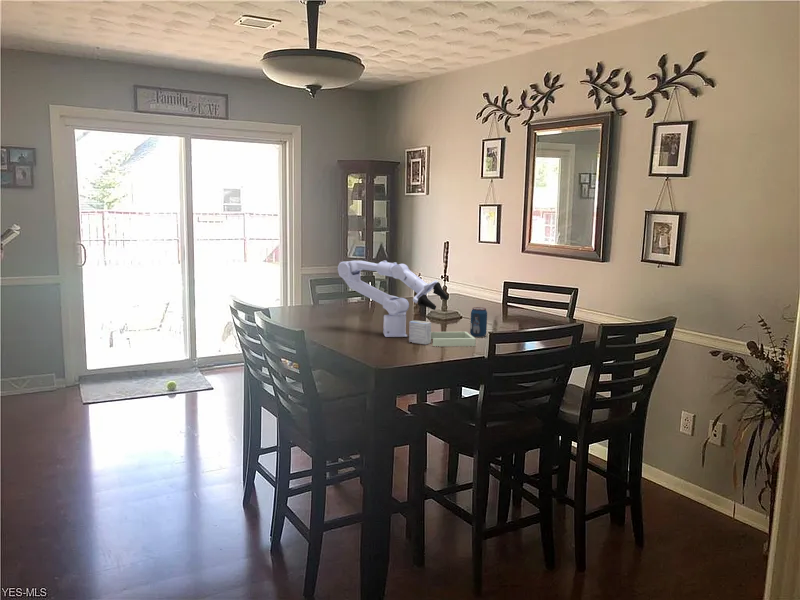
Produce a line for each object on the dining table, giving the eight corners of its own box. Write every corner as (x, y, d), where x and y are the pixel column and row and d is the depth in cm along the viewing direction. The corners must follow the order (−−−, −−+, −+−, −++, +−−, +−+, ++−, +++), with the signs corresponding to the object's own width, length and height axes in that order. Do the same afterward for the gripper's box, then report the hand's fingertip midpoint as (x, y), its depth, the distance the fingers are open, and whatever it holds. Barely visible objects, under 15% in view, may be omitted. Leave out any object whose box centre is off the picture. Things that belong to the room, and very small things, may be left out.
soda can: (483, 334, 277) (484, 307, 276) (488, 337, 270) (489, 309, 269) (468, 334, 276) (469, 307, 274) (472, 337, 269) (473, 309, 268)
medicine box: (431, 343, 256) (431, 322, 255) (425, 345, 252) (426, 323, 251) (413, 340, 260) (414, 319, 259) (408, 342, 256) (409, 321, 255)
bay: (433, 346, 250) (433, 339, 249) (426, 338, 264) (426, 331, 263) (475, 346, 252) (475, 338, 252) (466, 338, 267) (466, 331, 266)
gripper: (406, 286, 255) (431, 306, 251) (429, 268, 263) (454, 288, 259) (403, 297, 261) (428, 317, 257) (426, 279, 269) (450, 298, 265)
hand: (441, 303), depth 258 cm, fingers open, 7 cm apart
